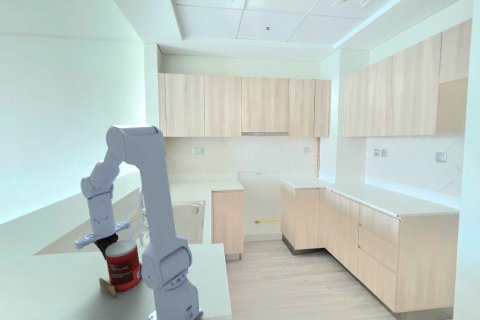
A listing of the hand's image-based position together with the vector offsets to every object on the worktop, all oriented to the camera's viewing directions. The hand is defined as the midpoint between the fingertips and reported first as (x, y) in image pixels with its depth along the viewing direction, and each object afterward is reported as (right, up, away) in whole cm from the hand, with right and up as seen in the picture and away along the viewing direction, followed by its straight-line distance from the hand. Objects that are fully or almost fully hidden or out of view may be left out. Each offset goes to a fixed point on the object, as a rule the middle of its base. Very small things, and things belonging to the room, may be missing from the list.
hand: (108, 259), depth 66 cm
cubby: (+7, -5, -3) cm, 9 cm away
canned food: (+7, -5, -4) cm, 9 cm away
